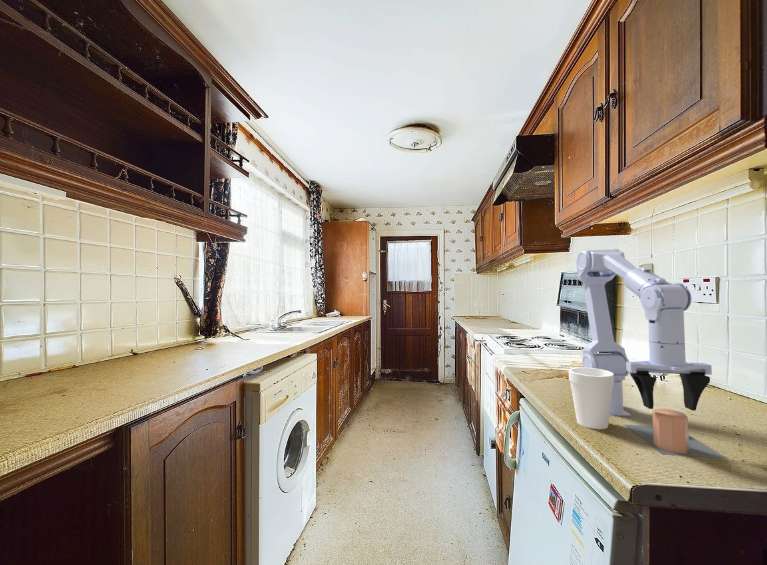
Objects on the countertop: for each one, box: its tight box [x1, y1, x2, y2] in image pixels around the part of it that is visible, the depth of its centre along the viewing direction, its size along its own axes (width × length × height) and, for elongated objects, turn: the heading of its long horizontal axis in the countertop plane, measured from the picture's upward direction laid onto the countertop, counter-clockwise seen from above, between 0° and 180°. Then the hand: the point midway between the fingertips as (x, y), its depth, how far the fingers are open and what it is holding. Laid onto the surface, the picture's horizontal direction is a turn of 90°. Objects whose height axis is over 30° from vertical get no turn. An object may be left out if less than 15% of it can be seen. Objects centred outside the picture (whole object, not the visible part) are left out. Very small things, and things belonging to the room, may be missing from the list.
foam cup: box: [568, 367, 614, 430], centre depth 82 cm, size 10×9×13 cm
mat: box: [623, 424, 728, 459], centre depth 73 cm, size 15×11×1 cm
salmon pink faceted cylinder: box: [652, 408, 690, 454], centre depth 70 cm, size 5×5×7 cm
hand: (669, 408), depth 70 cm, fingers open, 7 cm apart
